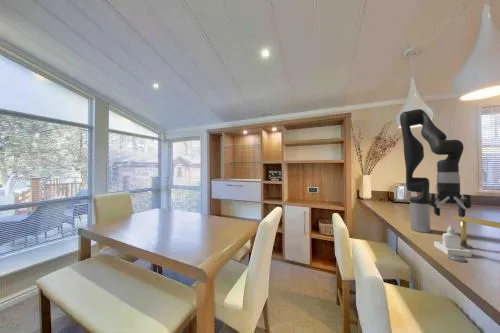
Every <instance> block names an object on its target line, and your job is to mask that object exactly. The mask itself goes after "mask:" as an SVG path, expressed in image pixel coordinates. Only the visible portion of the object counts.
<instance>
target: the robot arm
mask: <svg viewBox="0 0 500 333" xmlns="http://www.w3.org/2000/svg"><path fill="white" fill-rule="evenodd" d="M399 123H400V124H399V125H400V129H401V134H402V141H403V155H404V157H403V158H404V164H405V187H406V190H407V191H408V192H409V193H410V192H412V193H421V194H420V195H417V196H412V197H410V198H409V213H410V214H409V216H410V230H412V231H415V232H420V233H432V230H431V208H430V207H433V213H434V215H435V216H437V217H440V216H441V207H442V205H445V204H453V205H456V207H458V215H459V216H460V217H464V216H466V209H471V208H472V201H471V195H469V194H467V193H466V194H464V193H463V194H461V177H460V173H459V171H460V170H459V168H460V166H459V165H460V164H459V163H460V161H461V158H462V155H463V152H464V144H463V142H462V141H461V140H459V139H447V134H446V133H444V132H443V130H441V129H439V127H437V126H436V125H435V124H434V122H433V121H432V119H431V118H430V116H429V115H428V114H427V113H426V112H425V110H423V109H422V108H420V109H419V108H418V109H417V108H416V109H413V110H408V111H403V112H401V113H400V116H399ZM417 125H418V126H419V125H421V126H422V127H421V131H420V134H421V136H422V138H423V139H424V140H425V141H426V142H427V143H428V145H429V148H430V150H431V152H432V153H433V154H435V155H437V156H442V155H443V156H444V155H445V156H446V155H447V157H446V158H445V159H440V160H438V161H437V163H436V168H437V169H436V170H437V171H436V172H437V173H436V192H437V193H431V192H430V180H429V178H428V177H419V176H418V177H413V175H414V172H415V170H416V169H417V167H418V166H420V163H422V161H423V160H424V157H425V152H424V151H425V150H424V145H423V143H422V142H420V140H419V139H417V137H415V136H414V135H413V133H412V130H411V127H414V126H417ZM436 198H437V200H436ZM461 199H462V201H461ZM435 200H436V201H435Z"/></svg>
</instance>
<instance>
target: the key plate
mask: <svg viewBox="0 0 500 333" xmlns="http://www.w3.org/2000/svg"><path fill="white" fill-rule="evenodd" d="M460 245H461V246H462V247H464V248H466V249H467V250H470V249H471V250H472V249H473V246H472V245H470V244H468V243H467V245H462V244H461V242H460ZM473 250H474V249H473Z"/></svg>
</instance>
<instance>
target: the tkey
mask: <svg viewBox="0 0 500 333" xmlns="http://www.w3.org/2000/svg"><path fill="white" fill-rule="evenodd" d="M452 218H453V220H456V221H459V227H460V228H459V230H460V231H459V232H460V243H461V244H462V245H467V244H468V236H467V235H468V234H467V223H471V224H476V225H480V226H485V227H491V228H496V229H500V222H498V221H494V220H487V219H482V218H477V217H476V218H475V217H471V216H466V215H465V216H464V217H460V216H459V214H454V215H452Z"/></svg>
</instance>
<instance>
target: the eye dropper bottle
mask: <svg viewBox="0 0 500 333" xmlns="http://www.w3.org/2000/svg"><path fill="white" fill-rule="evenodd" d="M442 242H443V245H444V246H445V247H447V248H449V249H458V250H461V245H460V243H461V236H460V235H458V234H456V230H455V228H453V226H452V225H449V227H447V228H446V232H444V233H443V234H442Z"/></svg>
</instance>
